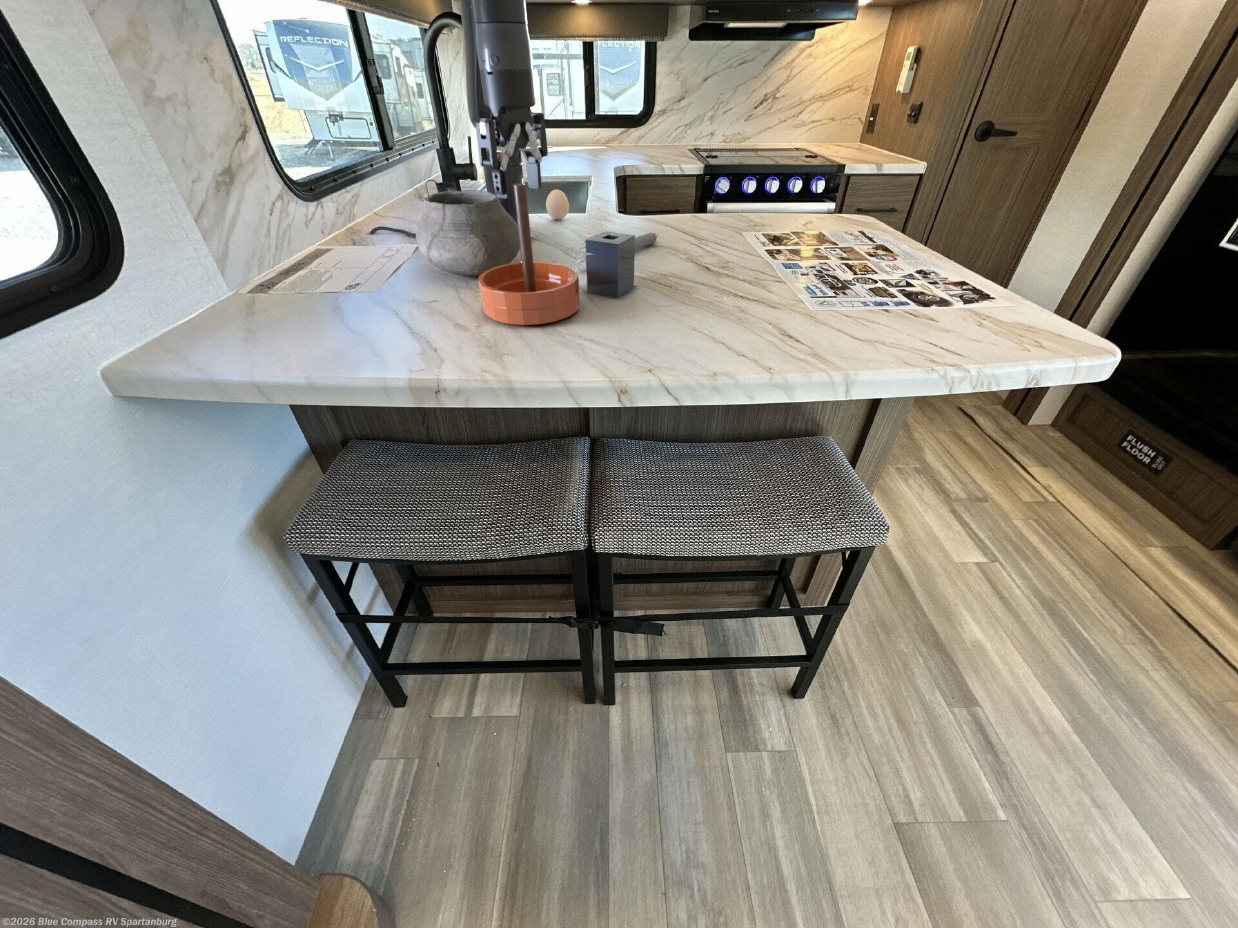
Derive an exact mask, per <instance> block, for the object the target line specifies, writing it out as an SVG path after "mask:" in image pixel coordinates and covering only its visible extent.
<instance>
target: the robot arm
mask: <svg viewBox="0 0 1238 928" xmlns="http://www.w3.org/2000/svg"><path fill="white" fill-rule="evenodd" d="M459 6H460V9H459V10H460V15H461V23H462V33H463V34H462V35H463V42H464V43H463V44H464V60H465V62H464V63H465V89H466V104H467V113H468V117H469V120H470V122H471V125H472V126H473V127H474V129H475V130H476V131H475V132H476V139H477V141H476V142H477V149H478V159H479V165H480V167H482V168H483V173H484V181H485V188H486V192H489V193H492V194H494V195H496V196H497V197H498V199H499V201H500V203H501V205H502V207H503V208H504V209H505V211H506V212H507V213H508V214H509V215H510V216H511V217H512V218H513V219H514V221H515V222H516V223H517V214H516V205H515V196H514V188H513V184H517V183H523V184H525V178H524V167H523V158H522V155H523V157H524V159H525V160H526V162H525V166H526V177H527V187H528V188H529V189H533V190H539V189H541V188H542V172H541V171H542V170H541V163H542V161H543V158H544V157H546V158H547V156H548V154H549V151H548V150H549V149H548V141H547V140H548V138H547V130H546V120H545V114H544V113H543V112H532V111H531V108H532V107H534V106H535V105H536V90H535V77H534V66H533V53H532V45H531V38H530V33H529V26H528V14H527V1H526V0H459ZM538 140H539V142H538ZM539 144H540V147H539ZM517 225H518V223H517ZM378 231H387V232H388V231H389V232H392V233H398V234H404V235H406V236H408V237H412V238H416V233H413V232H410V231H407V230H405V229H400V228H394V227H390V226H384V225H383V226H375V227H374V228H372V229H371V230H370V231H369V235H374V234H375V233H376V232H378ZM530 232H532V231H531V229H530Z"/></svg>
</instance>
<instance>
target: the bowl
mask: <svg viewBox="0 0 1238 928" xmlns="http://www.w3.org/2000/svg"><path fill="white" fill-rule="evenodd" d="M533 262H534V272H535V282H536V292H525V284H524V275H523V267H522V261H518V262H511V263H510V264H505V265H501V266H497V267H494V268H492V269H489V270H487V271H485V272H484V273H483V274H481V275H479V276H478V281H477V282H478V288H479V294H480V300H481V307H482V312H483V313H484V314H485V315H486V317H488V318H489V319H492V320H493V321H495V322H500V323H504V324H509V325H519V326H520V325H521V326H528V325H529V326H530V325H531V326H532V325H544V324H548V323H549V324H550V323H554V322H558V321H561V320H563V319H567V318H569V317H570V316H572V315H574V314H575V313H577V311H578V310H579V308H580V307H581V302H580V301H581V300H580V299H581V298H580V281H579V278H580V277H579V273H578V271H577V270H576V269H574V268H573V267H571V266H569V265H566V264H562V263H557V262H551V261H539V260H538V261H536V260H533Z"/></svg>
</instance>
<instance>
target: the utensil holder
mask: <svg viewBox="0 0 1238 928" xmlns="http://www.w3.org/2000/svg"><path fill="white" fill-rule="evenodd" d="M635 237H636V235H635V234H628V233H623V232H622V233H620V232H613V231H607V230H602V231H600V232H598V233H596V234H594V235H592V236H589V237H587V238H585V240H584V242H585V243H584V244H585V247H586V248H585V250H586V251H585V258H586V259H585V264H586V267H585V270H586V292H587V293H590V294H594V295H601V296H605V297H612V298H617V299H619V298H620V297H622V296H623V295H625V294H626V293H628V292H629V291H630V290H632V289H634V287H635V250H636V249H635Z"/></svg>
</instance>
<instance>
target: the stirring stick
mask: <svg viewBox="0 0 1238 928" xmlns="http://www.w3.org/2000/svg"><path fill="white" fill-rule="evenodd" d="M513 188H514V196H515V205H516V214H517V223H518V232H519V240H520V256H521V257H520V258H521V262H522V267H523V275H524V284H525V292H536V282H535V272H534V262H533V261H534V254H533V252H534V251H533V242H532V234H531V232H532V231H531V232H530V230H531V224H530V223H531V222H530V214H529V213H530V212H529V203H528V194H527V193H528V192H527V184H526V183H524V184H523V183H517V184H513Z"/></svg>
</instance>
